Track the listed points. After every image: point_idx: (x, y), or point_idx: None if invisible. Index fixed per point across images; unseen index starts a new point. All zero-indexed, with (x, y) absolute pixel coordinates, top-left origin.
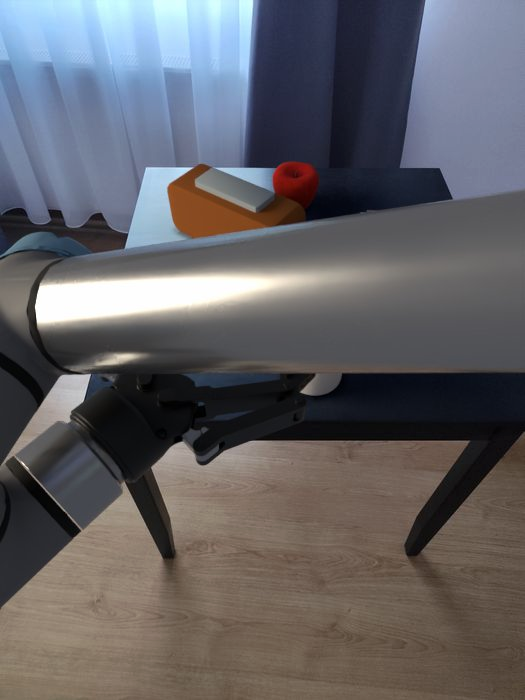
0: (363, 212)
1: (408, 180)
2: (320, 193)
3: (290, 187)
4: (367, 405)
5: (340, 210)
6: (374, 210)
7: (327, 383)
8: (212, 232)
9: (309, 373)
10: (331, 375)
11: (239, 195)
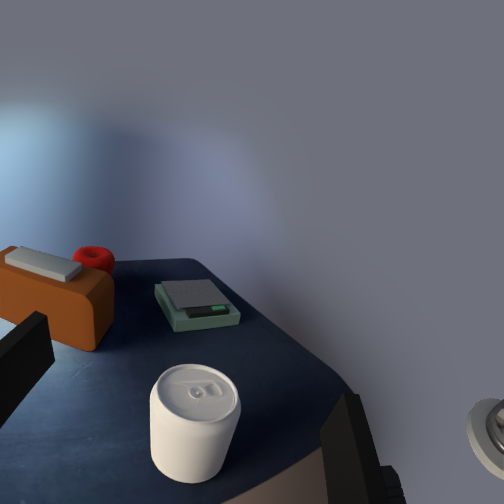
0: (158, 284)
1: (178, 262)
2: (113, 275)
3: (91, 265)
4: (263, 465)
5: (134, 286)
6: (167, 281)
7: (220, 463)
8: (22, 310)
9: (401, 493)
10: (224, 454)
11: (47, 266)
